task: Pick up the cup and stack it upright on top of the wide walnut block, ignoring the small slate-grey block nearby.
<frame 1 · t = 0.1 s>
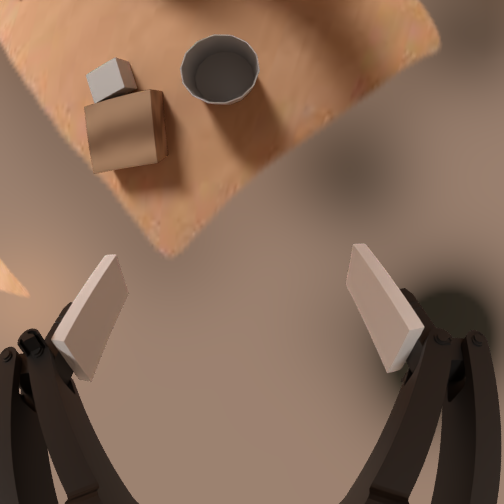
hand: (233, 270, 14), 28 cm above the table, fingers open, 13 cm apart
walnut block: (134, 128, 35), on the table
cup: (224, 78, 32), on the table
grey block: (118, 82, 31), on the table
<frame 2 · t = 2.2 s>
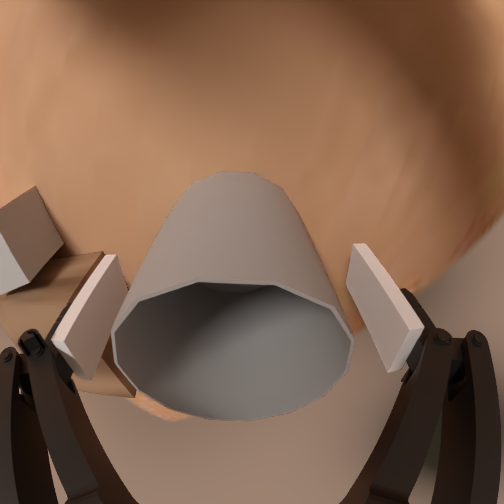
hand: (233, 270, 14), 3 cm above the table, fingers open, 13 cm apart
walnut block: (81, 305, 20), on the table
cup: (234, 234, 17), on the table
grey block: (32, 225, 16), on the table
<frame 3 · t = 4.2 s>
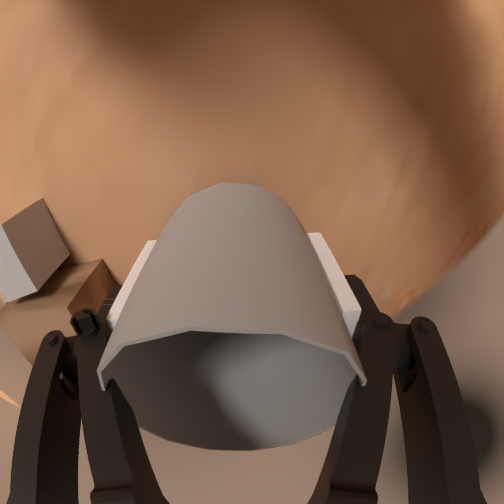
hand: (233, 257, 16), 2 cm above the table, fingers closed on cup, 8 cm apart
walnut block: (86, 314, 21), on the table
cup: (234, 250, 16), point 2 cm above the table, touching gripper
grey block: (39, 235, 17), on the table
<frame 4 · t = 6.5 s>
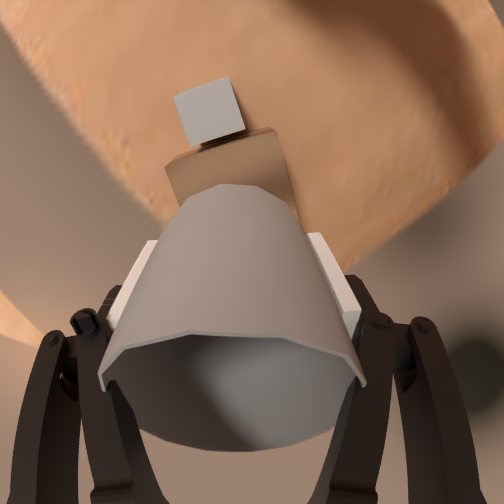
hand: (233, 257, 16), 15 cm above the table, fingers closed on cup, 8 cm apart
walnut block: (236, 182, 29), on the table
cup: (234, 251, 16), point 15 cm above the table, touching gripper
grey block: (214, 110, 25), on the table
when the fingers open (7 cm above the table, at t = 8.6 s): cup drops 1 cm, point 6 cm above the table.
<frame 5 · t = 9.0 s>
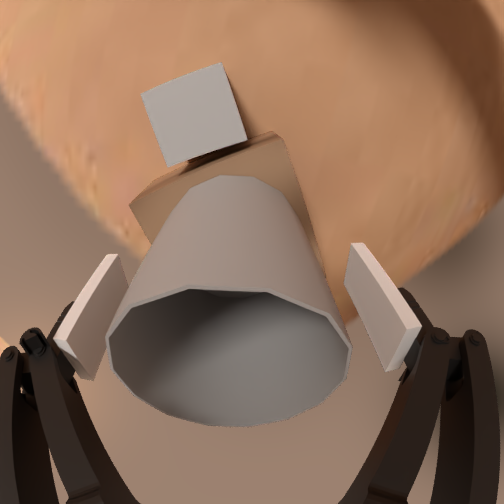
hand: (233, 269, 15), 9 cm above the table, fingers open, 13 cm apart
walnut block: (234, 208, 22), on the table
cup: (233, 238, 17), point 6 cm above the table
grey block: (203, 113, 18), on the table
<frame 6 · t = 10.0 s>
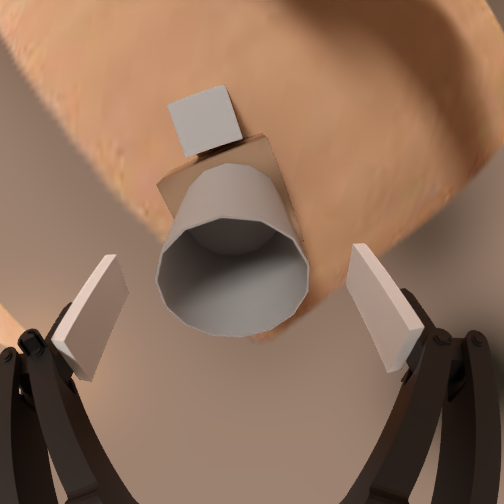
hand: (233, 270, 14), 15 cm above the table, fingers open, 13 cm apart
walnut block: (233, 193, 28), on the table, touching cup
cup: (232, 210, 23), point 6 cm above the table, touching walnut block
grey block: (210, 119, 24), on the table
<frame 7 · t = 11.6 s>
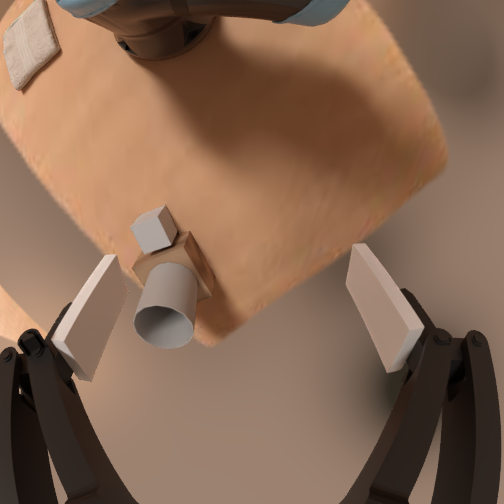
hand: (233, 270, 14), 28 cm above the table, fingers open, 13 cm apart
walnut block: (178, 263, 48), on the table
cup: (172, 283, 42), point 6 cm above the table
washcloth: (33, 40, 23), on the table
grey block: (158, 222, 43), on the table
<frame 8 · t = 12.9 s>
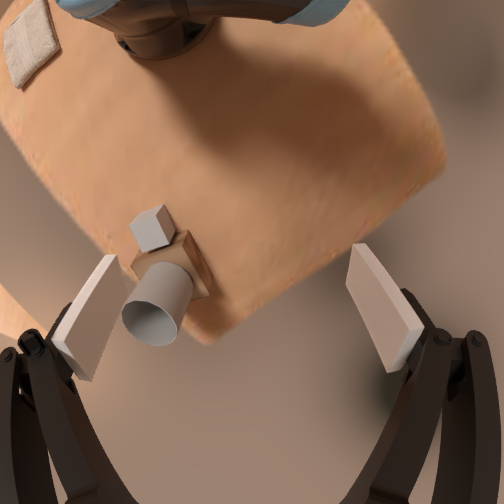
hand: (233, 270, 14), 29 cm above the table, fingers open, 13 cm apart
walnut block: (176, 261, 48), on the table, touching cup
cup: (168, 283, 43), point 6 cm above the table, touching walnut block
washcloth: (33, 39, 23), on the table
grey block: (157, 221, 44), on the table
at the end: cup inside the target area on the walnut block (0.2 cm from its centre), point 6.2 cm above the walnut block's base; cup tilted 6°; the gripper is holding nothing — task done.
